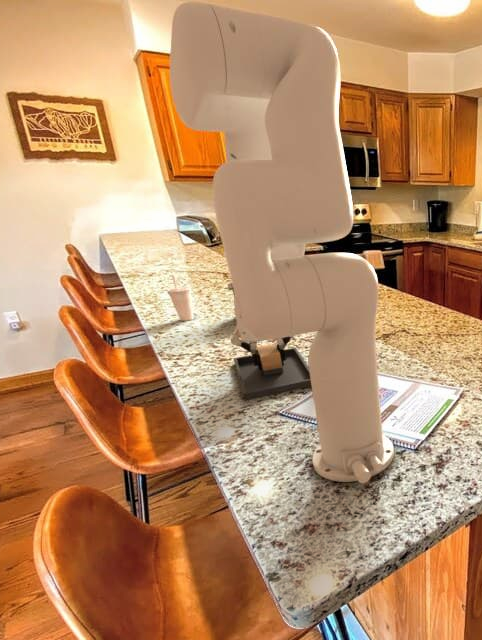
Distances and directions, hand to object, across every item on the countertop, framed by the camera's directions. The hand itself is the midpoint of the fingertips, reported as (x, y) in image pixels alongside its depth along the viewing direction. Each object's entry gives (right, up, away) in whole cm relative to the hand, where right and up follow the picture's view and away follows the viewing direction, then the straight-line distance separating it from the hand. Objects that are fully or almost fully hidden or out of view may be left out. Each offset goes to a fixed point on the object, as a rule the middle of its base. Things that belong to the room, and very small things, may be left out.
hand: (270, 365), depth 98 cm
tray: (+2, -3, -2) cm, 4 cm away
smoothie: (-43, +15, +38) cm, 59 cm away
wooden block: (0, -1, 0) cm, 1 cm away
